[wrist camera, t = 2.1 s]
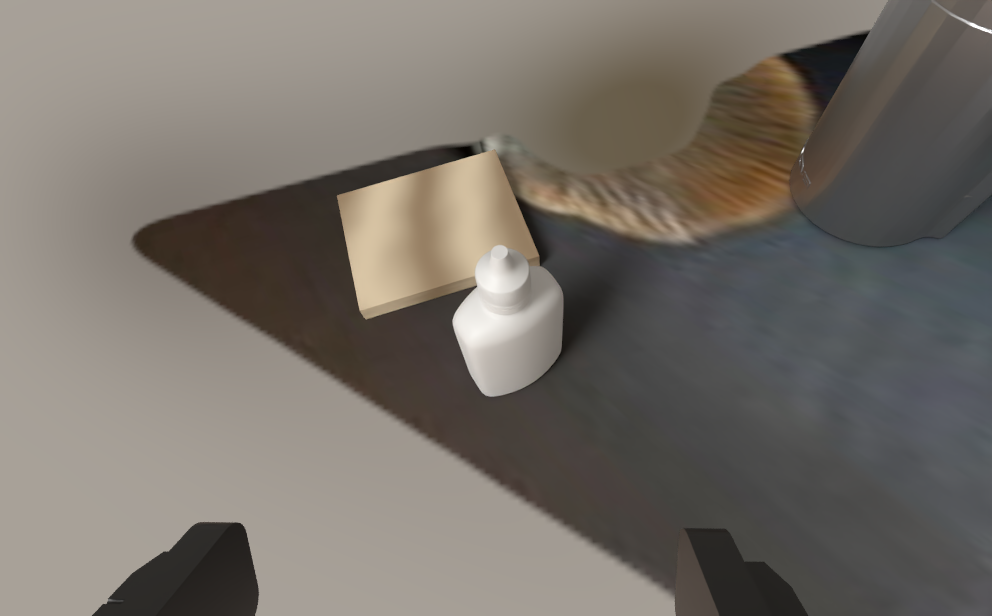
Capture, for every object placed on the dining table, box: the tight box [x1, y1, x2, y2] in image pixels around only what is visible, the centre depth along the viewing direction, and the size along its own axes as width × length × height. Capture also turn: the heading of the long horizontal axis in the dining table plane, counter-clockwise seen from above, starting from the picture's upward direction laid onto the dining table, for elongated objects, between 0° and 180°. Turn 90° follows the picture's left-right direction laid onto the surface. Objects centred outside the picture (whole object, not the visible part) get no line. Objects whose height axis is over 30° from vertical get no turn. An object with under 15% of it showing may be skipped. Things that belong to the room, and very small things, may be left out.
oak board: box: [337, 150, 540, 319], centre depth 37 cm, size 12×10×1 cm
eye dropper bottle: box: [453, 245, 563, 397], centre depth 27 cm, size 4×6×12 cm
